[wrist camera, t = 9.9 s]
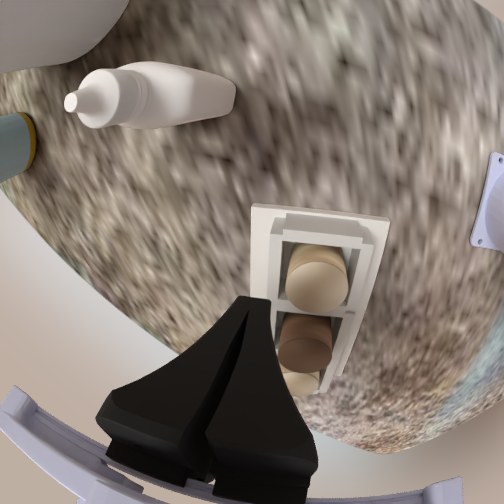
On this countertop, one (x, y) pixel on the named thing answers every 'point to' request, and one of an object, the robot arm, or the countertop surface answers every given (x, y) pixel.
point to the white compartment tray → (322, 233)
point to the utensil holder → (52, 30)
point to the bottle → (16, 144)
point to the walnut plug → (305, 342)
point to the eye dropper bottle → (150, 96)
